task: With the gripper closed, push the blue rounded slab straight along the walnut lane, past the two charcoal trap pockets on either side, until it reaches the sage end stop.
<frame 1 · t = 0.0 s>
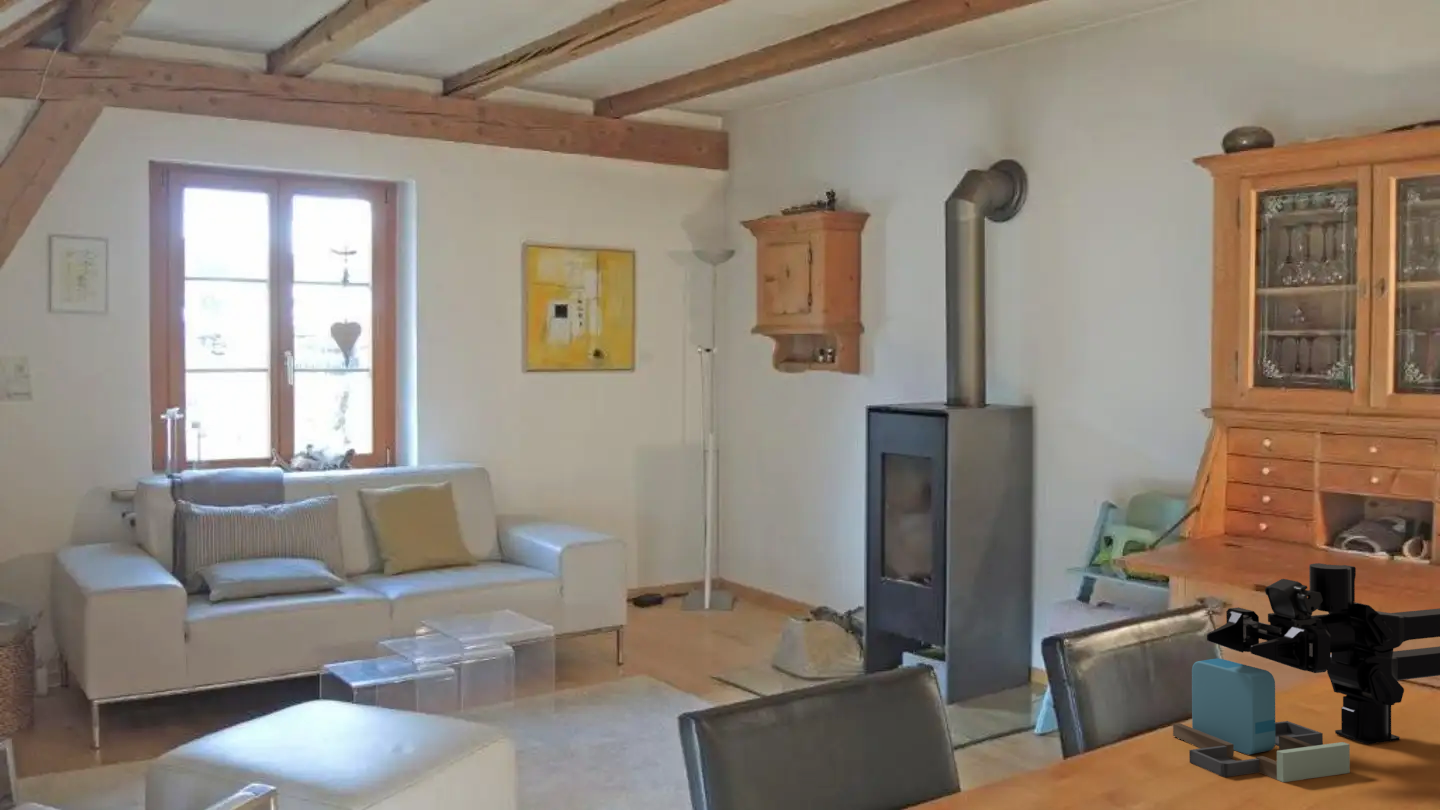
hand: (1228, 643, 185), 17 cm above the table, tool horizontal, fingers open, 9 cm apart
trap pockets: (1254, 752, 187), on the table
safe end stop: (1313, 761, 176), on the table
lane rails: (1254, 752, 187), on the table
blue rounded slab: (1232, 746, 191), on the table
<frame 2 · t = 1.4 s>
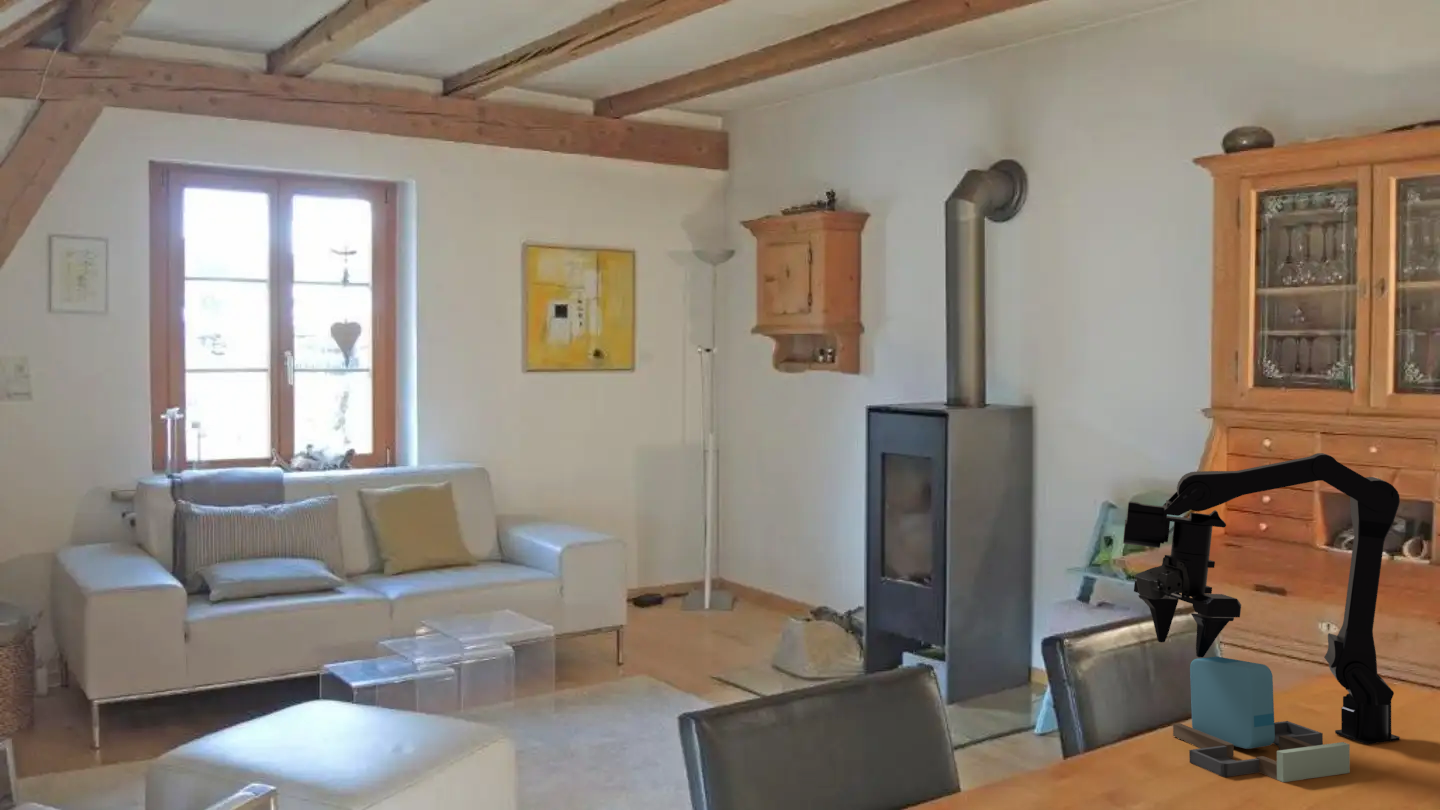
hand: (1180, 649, 201), 12 cm above the table, tool pointing down, fingers open, 9 cm apart
blue rounded slab: (1232, 743, 191), on the table, touching gripper
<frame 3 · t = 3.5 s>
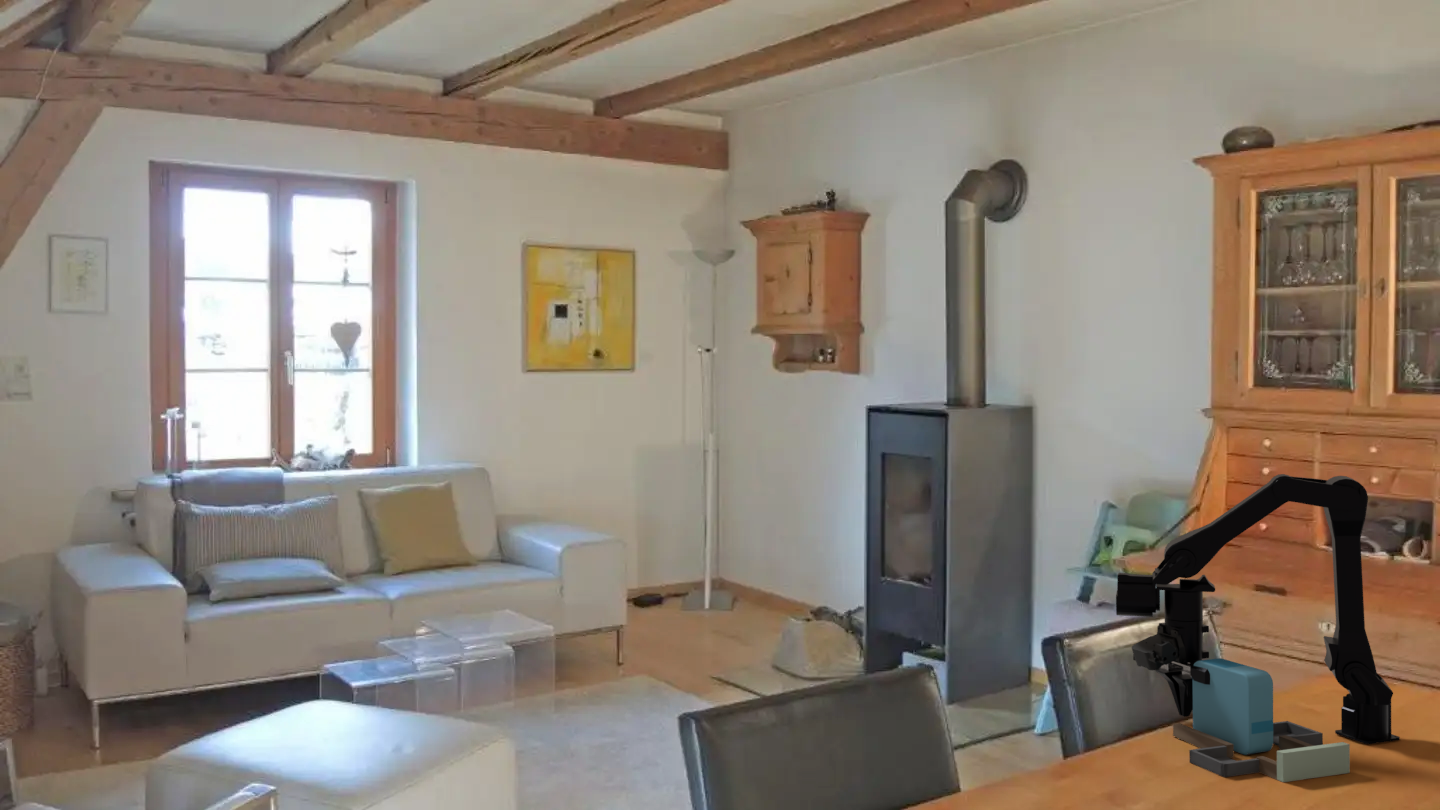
hand: (1184, 715, 202), 1 cm above the table, tool pointing down, fingers closed
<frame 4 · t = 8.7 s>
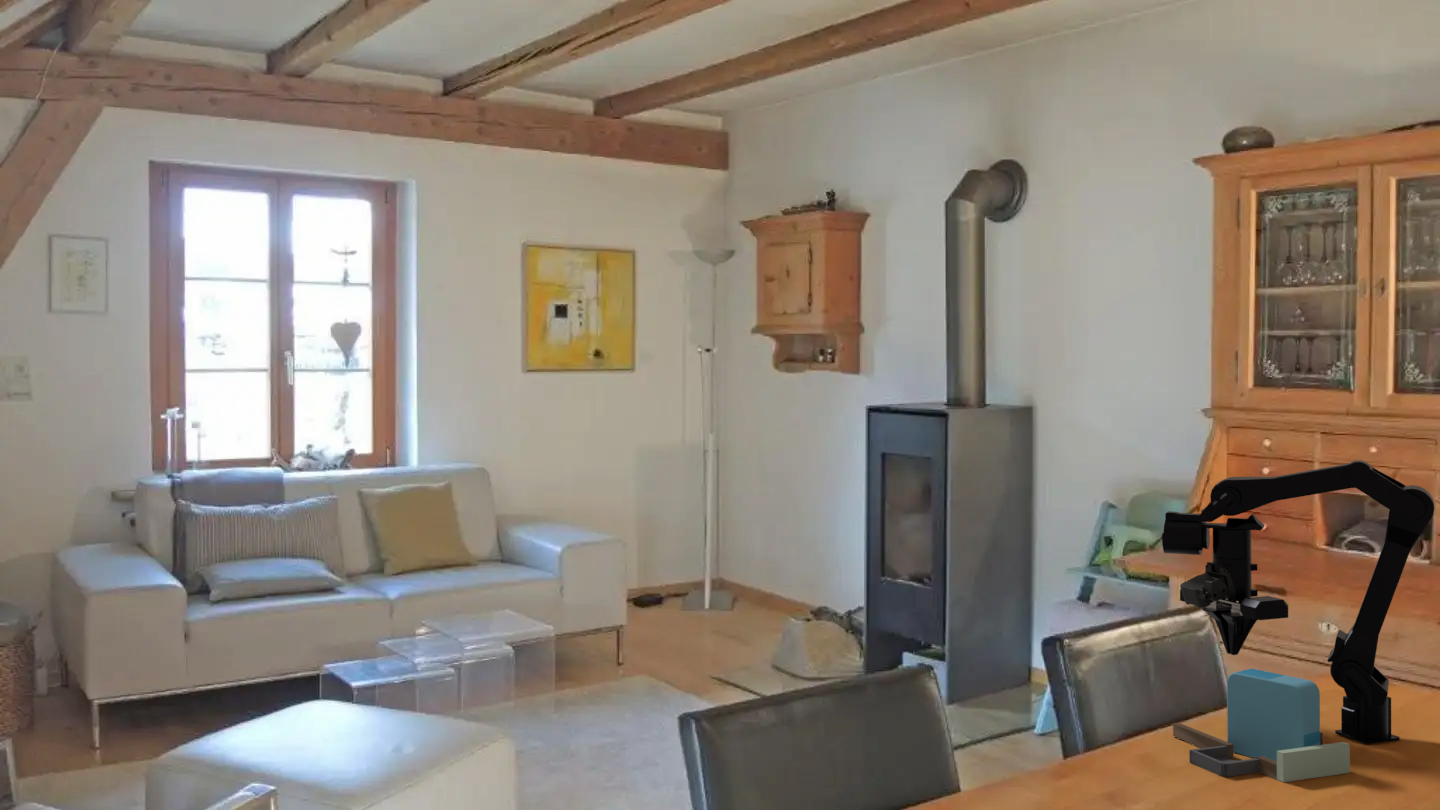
hand: (1232, 654, 203), 11 cm above the table, tool pointing down, fingers closed
blue rounded slab: (1272, 759, 184), on the table
at the end: blue rounded slab 2.1 cm from the target spot, on the table; blue rounded slab tilted 0° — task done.
